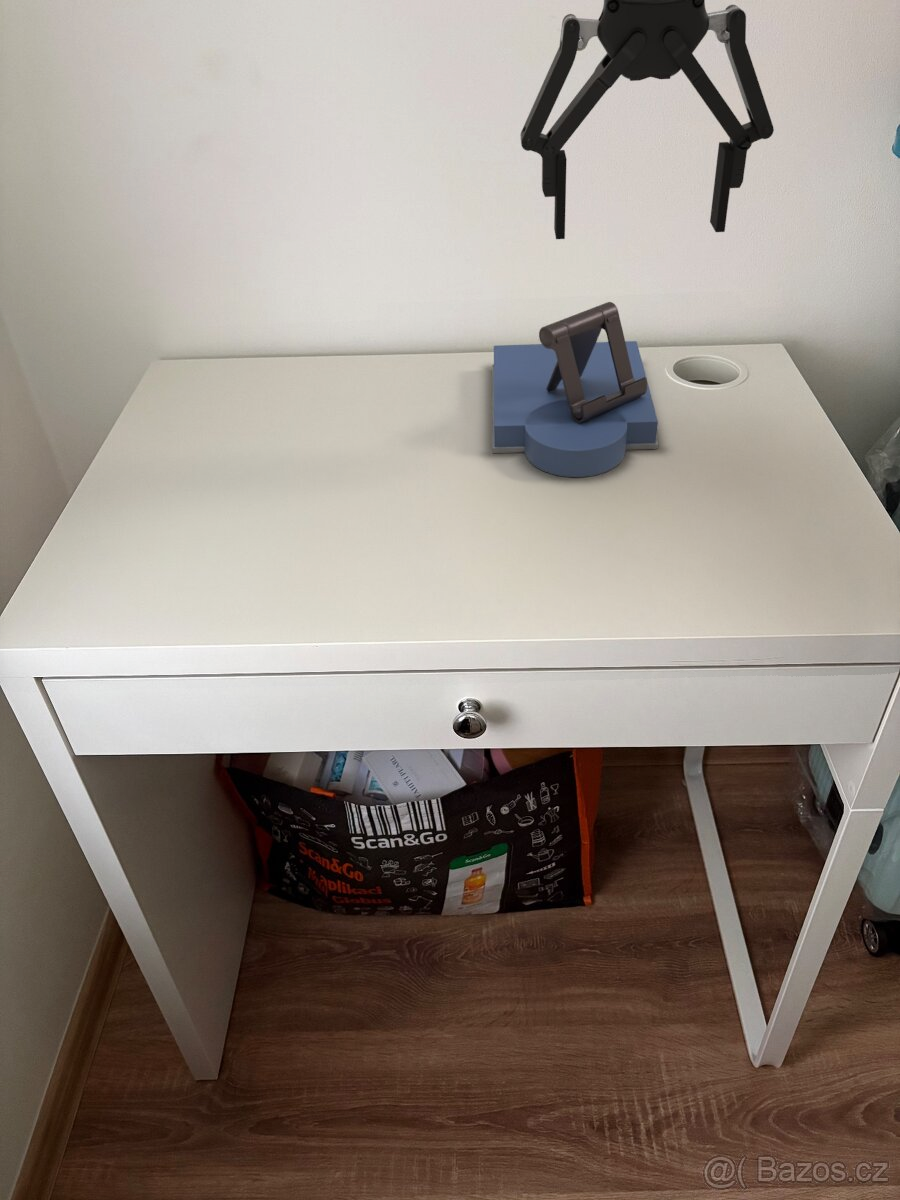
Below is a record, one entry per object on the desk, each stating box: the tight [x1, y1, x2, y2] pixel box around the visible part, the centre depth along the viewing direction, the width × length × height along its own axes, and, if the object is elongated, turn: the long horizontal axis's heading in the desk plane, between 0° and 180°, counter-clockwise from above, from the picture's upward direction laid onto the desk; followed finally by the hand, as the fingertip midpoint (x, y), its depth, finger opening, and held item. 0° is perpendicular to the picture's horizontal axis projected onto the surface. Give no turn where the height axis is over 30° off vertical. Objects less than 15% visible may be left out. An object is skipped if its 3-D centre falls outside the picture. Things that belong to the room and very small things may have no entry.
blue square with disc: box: [491, 340, 659, 478], centre depth 101 cm, size 23×16×3 cm
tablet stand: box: [538, 301, 648, 423], centre depth 96 cm, size 9×8×8 cm
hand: (637, 230), depth 84 cm, fingers open, 13 cm apart
